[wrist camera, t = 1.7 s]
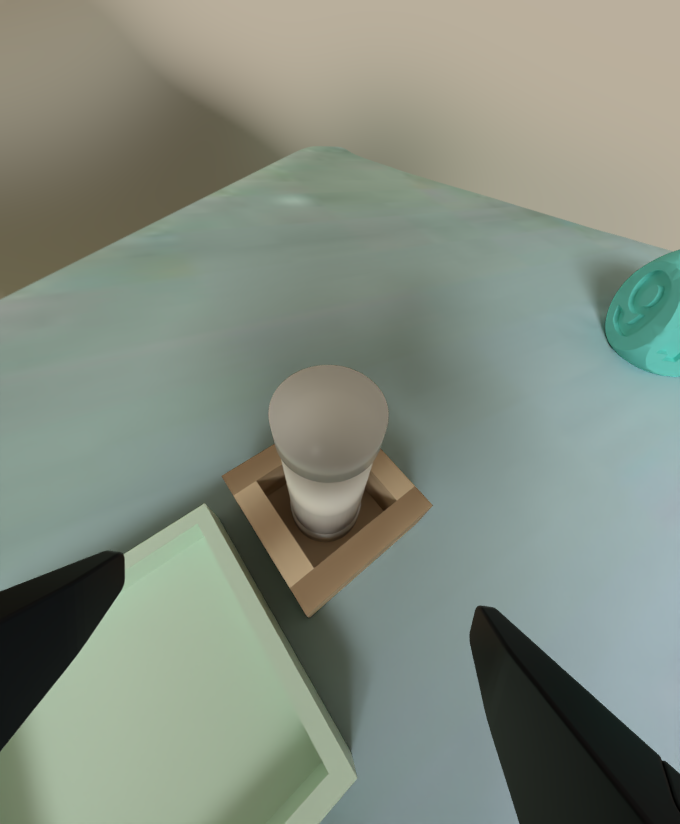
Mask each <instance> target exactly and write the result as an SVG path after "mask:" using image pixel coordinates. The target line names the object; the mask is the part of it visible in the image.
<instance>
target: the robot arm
mask: <svg viewBox="0 0 680 824" xmlns="http://www.w3.org/2000/svg"><path fill="white" fill-rule="evenodd" d="M124 583H125V557H124V554H123V553H121V552H115V551H104V552H101V553H98V554H96V555H93V556H91V557H88V558H85V559H83V560H80V561H78V562H75V563H73V564H70V565H67V566H65V567H62V568H60V569H57V570H55V571H52V572H49V573H47V574H44V575H42V576H39V577H36V578H34V579H31V580H29V581H26V582H24V583H21V584H18V585H16V586H13V587H11V588H8V589H6V590H3V591H0V752H1V750H2V749H3V748H4V747H5V745H6V744H7V743H8V742H9V740H10V739H11V738H12V737H13V735H14V734H15V733H16V732H17V730H18V729H19V728H20V727H21V725H22V724H23V723H24V722H25V720H26V719H27V718H28V717H29V715H30V714H31V713H32V712H33V710H34V709H35V708H36V707H37V705H38V704H39V703H40V702H41V700H42V699H43V698H44V697H45V695H46V694H47V693H48V691H49V690H50V689H51V688H52V686H53V685H54V684H55V683H56V681H57V680H58V679H59V678H60V676H61V675H62V674H63V673H64V671H65V670H66V669H67V668H68V666H69V665H70V664H71V663H72V661H73V660H74V659H75V657H76V656H77V655H78V653H79V652H80V651H81V649H82V648H83V647H84V645H85V644H86V642H87V641H88V639H89V638H90V636H91V635H92V633H93V632H94V630H95V629H96V628H97V626H98V625H99V623H100V622H101V620H102V619H103V617H104V616H105V614H106V613H107V611H108V610H109V608H110V607H111V605H112V604H113V602H114V601H115V600H116V598H117V597H118V595H119V594H120V592H121V590H122V588H123V586H124ZM470 646H471V650H472V655H473V659H474V664H475V668H476V673H477V677H478V682H479V686H480V691H481V695H482V700H483V704H484V709H485V713H486V717H487V721H488V724H489V727H490V731H491V734H492V737H493V741H494V744H495V747H496V750H497V753H498V757H499V760H500V763H501V766H502V769H503V772H504V776H505V779H506V782H507V785H508V788H509V792H510V795H511V798H512V801H513V804H514V808H515V811H516V814H517V817H518V820H519V823H520V824H680V774H679V773H678V772H677V771H676V770H675V769H674V768H673V767H672V766H671V765H669V764H668V763H667V762H666V761H662V760H661V757H660V756H659V755H658V754H657V753H656V752H655V751H654V750H653V749H651V748H650V747H649V746H648V745H647V744H646V743H645V742H644V741H643V740H641V739H640V738H639V737H638V736H637V735H636V734H635V733H634V732H633V731H631V730H630V729H629V728H628V727H627V726H626V725H625V724H624V723H623V722H621V721H620V720H619V719H618V718H617V717H616V716H615V715H614V714H613V713H611V712H610V711H609V710H608V709H607V708H606V707H605V706H604V705H603V704H601V703H600V702H599V701H598V700H597V699H596V698H595V697H594V696H593V695H591V694H590V693H589V692H588V691H587V690H586V689H585V688H584V687H583V686H581V685H580V684H579V683H578V682H577V681H576V680H575V679H574V678H573V677H571V676H570V675H569V674H568V673H567V672H566V671H565V670H564V669H562V668H561V667H560V666H559V665H558V664H557V663H556V662H555V661H554V660H552V659H551V658H550V657H549V656H548V655H547V654H546V653H545V652H544V651H542V650H541V649H540V648H539V647H538V646H537V645H536V644H535V643H534V642H532V641H531V640H530V639H529V638H528V637H527V636H526V635H525V634H524V633H522V632H521V631H520V630H519V629H518V628H517V627H516V626H515V625H514V624H512V623H511V622H510V621H509V620H508V619H507V618H506V617H505V616H504V615H502V614H501V613H500V612H499V611H498V610H497V609H495V608H493V607H487V606H478V607H477V608H476V610H475V613H474V617H473V621H472V625H471V630H470Z"/></svg>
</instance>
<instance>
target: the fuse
mask: <svg viewBox="0 0 680 824" xmlns="http://www.w3.org/2000/svg"><path fill="white" fill-rule="evenodd" d="M268 416H269V424H270V428H271V431H272V435H273V439H274V443H275V447H276V450H277V453H278V455H279V456H280V458H281V461H282V465H283V470H284V474H285V478H286V482H287V486H288V491H289V495H290V505H291V511H292V515H293V519H294V521H295V524H296V526H297V527H298V529H299V530H300V531H301V532H302V533H303V534H304V535H305V536H307V537H308V538H310V539H312V540H315V541H319V542H332V541H335V540H338V539H340V538H342V537H344V536H345V535H346V534H348V533H349V532H350V530H351V529H352V528H353V526H354V525H355V523H356V520H357V517H358V514H359V511H360V507H361V499H362V496H363V493H364V489H365V486H366V483H367V480H368V477H369V474H370V470H371V467H372V464H373V461H374V460H375V458H376V457H377V455H378V453H379V451H380V448H381V444H382V441H383V438H384V435H385V432H386V429H387V426H388V420H389V411H388V405H387V402H386V399H385V397H384V395H383V393H382V392H381V390H380V389H379V387H378V386H377V385H376V384H375V383H374V382H373V381H372V380H370V379H369V378H368V377H366V376H365V375H363V374H362V373H360V372H358V371H355V370H353V369H350V368H347V367H343V366H337V365H319V366H313V367H309V368H306V369H303V370H300V371H298V372H296V373H294V374H293V375H291V376H289V377H288V378H287V379H286V380H284V381H283V382H282V383H281V384H280V385H279V387H278V388H277V389H276V391H275V393H274V394H273V396H272V399H271V401H270V405H269V413H268Z"/></svg>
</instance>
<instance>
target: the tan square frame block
mask: <svg viewBox="0 0 680 824" xmlns="http://www.w3.org/2000/svg"><path fill="white" fill-rule="evenodd" d="M222 478H223V479H224V481H225V483H226V484H227V486H228V488H229V489H230V491H231V492H232V494H233V496H234V497H235V499H236V501H237V502H238V504H239V506H240V507H241V509H242V511H243V512H244V514H245V515H246V517H247V519H248V520H249V522H250V524H251V525H252V527H253V529H254V530H255V532H256V534H257V535H258V537H259V538H260V540H261V542H262V543H263V545H264V547H265V548H266V550H267V552H268V553H269V555H270V557H271V558H272V560H273V561H274V563H275V565H276V566H277V568H278V570H279V571H280V573H281V575H282V576H283V578H284V580H285V581H286V583H287V584H288V586H289V588H290V589H291V591H292V593H293V594H294V596H295V598H296V599H297V601H298V602H299V604H300V606H301V607H302V609H303V611H304V612H305V614H306V616H308V617H309V618H310V617H311V616H312V615H313V614H314V613H316V612H317V611H318V610H319V609H320V608H321V607H322V606H323V605H325V604H326V603H327V602H328V601H329V600H330V599H331V598H333V597H334V596H335V595H336V594H337V593H338V592H339V591H341V590H342V589H343V588H344V587H345V586H346V585H347V584H348V583H350V582H351V581H352V580H353V579H354V578H355V577H356V576H358V575H359V574H360V573H361V572H362V571H363V570H364V569H366V568H367V567H368V566H369V565H370V564H371V563H372V562H373V561H375V560H376V559H377V558H378V557H379V556H380V555H381V554H383V553H384V552H385V551H386V550H387V549H388V548H389V547H390V546H392V545H393V544H394V543H395V542H396V541H397V540H398V539H400V538H401V537H402V536H403V535H404V534H405V533H406V532H408V531H409V530H410V529H411V528H412V527H413V526H414V525H415V524H416V523H417V522H418V521H419V520H420V519H421V518H422V517H423V516H424V515H425V514H426V512H427V511H428V510H429V509H430V508H431V507H432V506H433V505H432V504H431V503H430V502H429V501H428V500H427V499H426V498H425V496H424V495H423V494H422V493H421V492H420V491H419V490H418V489H417V488H416V487H415V486H414V484H413V483H412V482H411V481H410V480H409V479H408V478H407V477H406V476H405V475H404V474H403V473H402V471H401V470H400V469H399V468H398V467H397V466H396V465H395V464H394V463H393V462H392V461H391V460H390V458H389V457H388V456H387V455H386V454H385V453H384V452H383V451H382V450H381V449H380V451H379V453H378V455H377V457H376V458H375V460H374V461H373V464H372V467H371V470H370V474H369V477H368V480H367V483H366V486H365V489H364V493H363V496H362V499H361V507H360V511H359V514H358V517H357V520H356V523H355V525H354V526H353V528H352V529H351V530H350V532H349V533H348V534H346V535H345V536H344V537H342V538H340V539H338V540H335V541H332V542H319V541H315V540H312V539H310V538H308V537H307V536H305V535H304V534H303V533H302V532H301V531H300V530H299V529H298V527H297V526H296V524H295V521H294V519H293V515H292V511H291V505H290V495H289V491H288V486H287V482H286V478H285V474H284V470H283V465H282V461H281V458H280V456H279V455H278V453H277V450H276V447H275V444H273V445H272V446H270V447H268V448H267V449H265V450H264V451H262V452H260V453H259V454H257V455H255V456H254V457H252V458H250V459H249V460H247V461H245V462H244V463H242V464H241V465H239V466H237V467H236V468H234V469H232V470H231V471H229V472H227V473H226V474H224V475H222Z"/></svg>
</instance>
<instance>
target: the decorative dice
mask: <svg viewBox="0 0 680 824" xmlns="http://www.w3.org/2000/svg"><path fill="white" fill-rule="evenodd" d="M605 331H606V336H607V339H608V342H609V344H610V345H611V347H612V348H613V349H614V350H615V351H616V352H617V353H618V354H619V355H620V356H621V357H622V358H623V359H625V360H626V361H628V362H629V363H631V364H632V365H634V366H636V367H638V368H640V369H642V370H645V371H648V372H650V373H654V374H658V375H663V376H680V250H677V251H674V252H671V253H668V254H666V255H664V256H661V257H659V258H657V259H655V260H653V261H652V262H650V263H648V264H647V265H645V266H643V267H642V268H640V269H639V270H638V271H636V272H635V273H634V274H632V275H631V276H630V277H629V278H628V279H627V280H626V281H625V282H624V284H623V285H622V286H621V287H620V289H619V290H618V291H617V293H616V295H615V296H614V298H613V300H612V302H611V304H610V307H609V309H608V312H607V316H606V322H605Z"/></svg>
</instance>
